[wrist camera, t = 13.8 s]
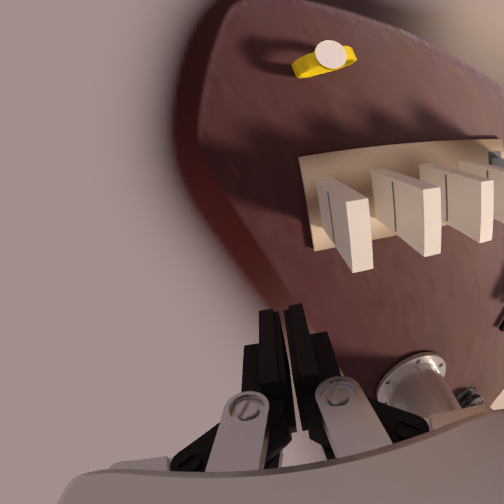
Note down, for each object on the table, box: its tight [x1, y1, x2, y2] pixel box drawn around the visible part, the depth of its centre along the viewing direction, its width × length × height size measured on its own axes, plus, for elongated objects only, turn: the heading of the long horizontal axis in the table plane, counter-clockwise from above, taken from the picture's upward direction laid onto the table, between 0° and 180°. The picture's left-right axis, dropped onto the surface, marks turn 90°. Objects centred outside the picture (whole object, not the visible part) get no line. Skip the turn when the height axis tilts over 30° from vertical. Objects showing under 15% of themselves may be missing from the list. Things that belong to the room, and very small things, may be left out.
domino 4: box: [459, 160, 504, 223], centre depth 23 cm, size 2×5×11 cm, turn 12°
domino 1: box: [315, 177, 373, 273], centre depth 25 cm, size 2×5×11 cm, turn 12°
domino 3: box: [419, 163, 494, 243], centre depth 24 cm, size 2×5×11 cm, turn 12°
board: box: [298, 139, 504, 251], centre depth 29 cm, size 10×28×1 cm, turn 102°
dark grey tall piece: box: [456, 387, 484, 409], centre depth 38 cm, size 6×6×12 cm
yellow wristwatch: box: [292, 40, 357, 78], centre depth 23 cm, size 6×3×6 cm, turn 111°
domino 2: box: [370, 169, 441, 257], centre depth 24 cm, size 2×5×11 cm, turn 12°
